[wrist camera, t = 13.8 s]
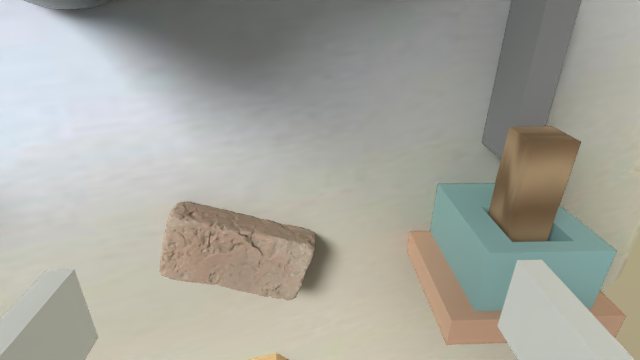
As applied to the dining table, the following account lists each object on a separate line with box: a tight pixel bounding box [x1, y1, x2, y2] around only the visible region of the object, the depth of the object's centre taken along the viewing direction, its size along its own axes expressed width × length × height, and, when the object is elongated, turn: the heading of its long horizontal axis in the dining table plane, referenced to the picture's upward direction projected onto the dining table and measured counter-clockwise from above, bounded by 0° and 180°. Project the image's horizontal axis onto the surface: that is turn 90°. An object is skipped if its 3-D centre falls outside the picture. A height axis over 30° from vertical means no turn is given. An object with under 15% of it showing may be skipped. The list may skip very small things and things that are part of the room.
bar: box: [488, 126, 581, 242], centre depth 35 cm, size 13×4×4 cm, turn 0°
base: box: [407, 231, 626, 345], centre depth 40 cm, size 3×16×14 cm, turn 89°
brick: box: [160, 202, 315, 300], centre depth 43 cm, size 17×8×5 cm, turn 73°
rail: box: [482, 0, 581, 158], centre depth 35 cm, size 16×3×6 cm, turn 0°
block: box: [430, 183, 617, 311], centre depth 38 cm, size 6×11×13 cm, turn 90°
